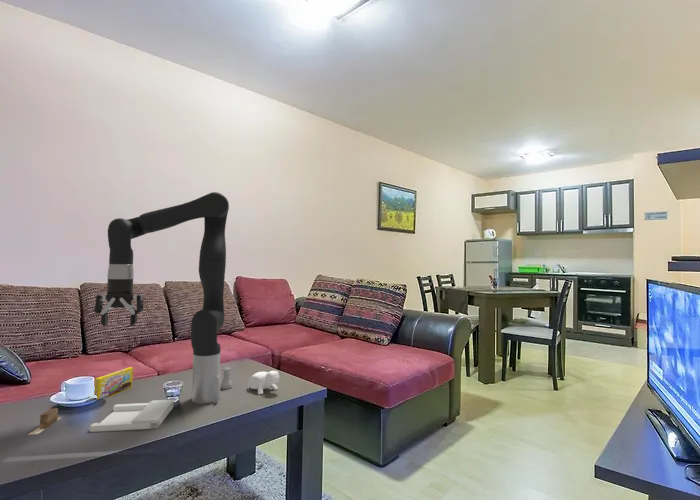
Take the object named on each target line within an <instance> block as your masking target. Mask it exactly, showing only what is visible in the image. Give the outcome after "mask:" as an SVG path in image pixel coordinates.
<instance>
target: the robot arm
mask: <svg viewBox="0 0 700 500" xmlns="http://www.w3.org/2000/svg"><path fill="white" fill-rule="evenodd" d="M229 205H230V204H229V200H228V198H227V197H226V196H225V195H224V194H223V193H221V192H218V191H212V192H210V193H207V194H205V195H203V196H200V197H198V198H196V199H194V200H193V199H192V200H191V201H186V202H184V203H181V204H177V205H173V206H168V207H164V208H161V209H157V210H153V211H148V212H145V213H142V214H140V215H139V216H136V217H133V218H129V219H125V218H120V217H119V218H118V217H117V218H115V219H113V220H112V221H110V222H109V224H108V227H107V240H108V248H109V259H108V261H109V262H108V270H107V275H106V276H107V283H106V285H107V288H106V292H107V293H106V295H105V294H97V295H96V296H95V305H94V313H95V314H100V324H101V325H102V326H103V327H107V326H108V325H109V314H108V313H109V312H110V311H111V309H114V308H115V309H117V308H121V309H124V308H126V309H127V310H128V311H129V313H130V318H129V319H130V324H129V325H130V326H132V327H134V326H135V325H136V324H137V323H138V321H137V320H138V314H139V313H142V312H144V295H143V294H134V250H133V248H132V240H133V239H135V238H138V237H141V236H145V235H147V234H151V233H155V232H159V231H163V230H167V229H170V228H173V227H175V226H178V225H180V224H184V223H186V222H189V221H192V220H196V219H203V218H204V220H203V221H204V222H203V223H204V232H203V236H202V237H203V238H202V241H201V245H200V250H199V257H198V258H199V259H198V275H199V279H200V283H201V286H202V287H201V288H202V291H203V301H202V302H203V303H202V309H201V310H198V311H196V312H195V313H194V314H193V317H191V318H192V319H191V323H190V324H191V325H190V344H191V348H192V377H191V378H192V379H191V380H192V381H191V402H192V403H194V404H199V405H200V404H201V405H202V404H203V405H204V404H210V403H212V405H215V404H216V405H217V404H218V403H219V401H220V399H221V383H222V380H221V379H222V377H221V376H222V372H221V349H222V348H221V344H220V343H219V342H218V331H220V330H221V328H222V327H223V326H224V324H225V323H224V322H225V307H224V305H225V304H224V292H225V291H224V290H225V279H226V277H225V274H226V267H227V264H226V263H227V247H226V245H227V244H226V226H227V225H226V224H227V218H228V213H229V209H230V206H229ZM105 300H106V301H107V304H106V305H105V306H104V305H103V304H104V301H105ZM133 300H134V301H135V302H136V307H135V305H134V304H133V303H132V302H133ZM103 306H104V308H103Z"/></svg>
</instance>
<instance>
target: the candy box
mask: <svg viewBox="0 0 700 500" xmlns="http://www.w3.org/2000/svg"><path fill="white" fill-rule="evenodd" d="M133 374H134V367H131V366H129V367H126V368H123V369H120V370H116V371H115V372H114V371H113V372H111V373H107V374H105V375H102V376H99V377H95V380H94V389H93V390H94V393H93V396H94V395H96V396H97V399H96V400H100V399H102V398H111V397H113V396H117V395H118V394H121V393H123V392H126V391H128V390H129V389H132V388H133V378H134V377H133V376H134V375H133Z"/></svg>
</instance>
